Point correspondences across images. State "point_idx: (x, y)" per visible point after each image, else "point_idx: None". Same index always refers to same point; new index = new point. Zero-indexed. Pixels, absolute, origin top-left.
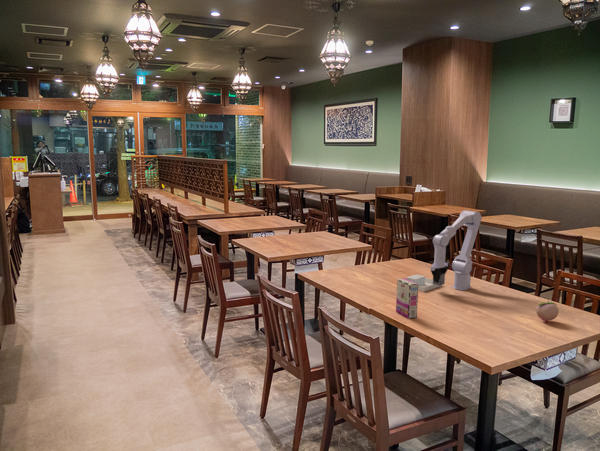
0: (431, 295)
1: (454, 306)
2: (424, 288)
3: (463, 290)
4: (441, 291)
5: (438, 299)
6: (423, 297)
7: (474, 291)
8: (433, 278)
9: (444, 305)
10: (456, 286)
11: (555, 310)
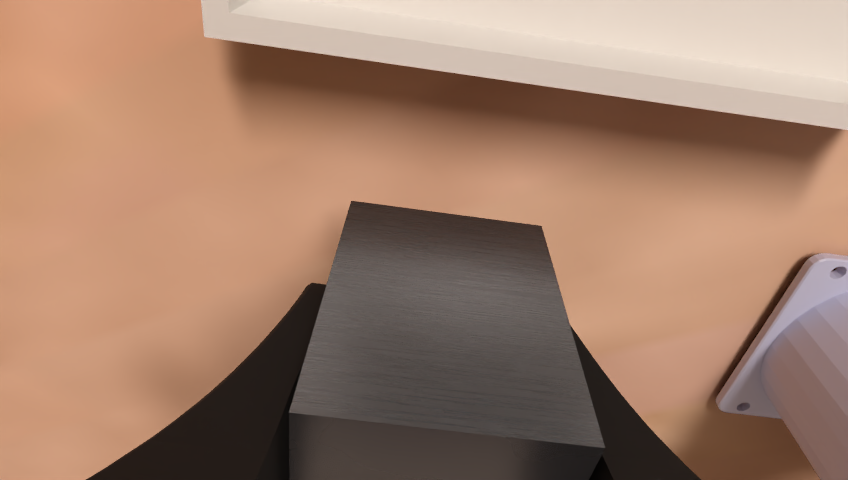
0: (218, 176)
1: (91, 469)
2: (222, 33)
3: (717, 403)
4: (534, 211)
5: (141, 308)
6: (15, 123)
7: (747, 470)
8: (323, 302)
9: (21, 410)
10: (794, 351)
11: None
